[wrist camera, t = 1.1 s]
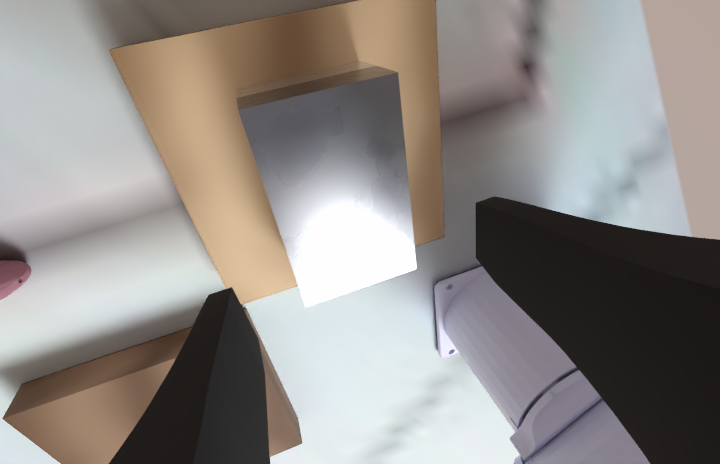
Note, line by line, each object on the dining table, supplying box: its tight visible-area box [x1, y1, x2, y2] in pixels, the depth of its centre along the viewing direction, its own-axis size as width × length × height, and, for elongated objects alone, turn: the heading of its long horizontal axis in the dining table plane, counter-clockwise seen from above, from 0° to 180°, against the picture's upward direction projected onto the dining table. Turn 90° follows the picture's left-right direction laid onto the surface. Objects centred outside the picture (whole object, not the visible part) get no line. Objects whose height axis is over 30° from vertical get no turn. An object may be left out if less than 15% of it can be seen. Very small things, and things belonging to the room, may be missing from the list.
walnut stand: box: [3, 309, 302, 464], centre depth 23 cm, size 12×12×2 cm
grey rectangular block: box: [235, 61, 417, 308], centre depth 15 cm, size 5×8×4 cm, turn 11°
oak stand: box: [109, 0, 444, 305], centre depth 17 cm, size 12×12×2 cm
